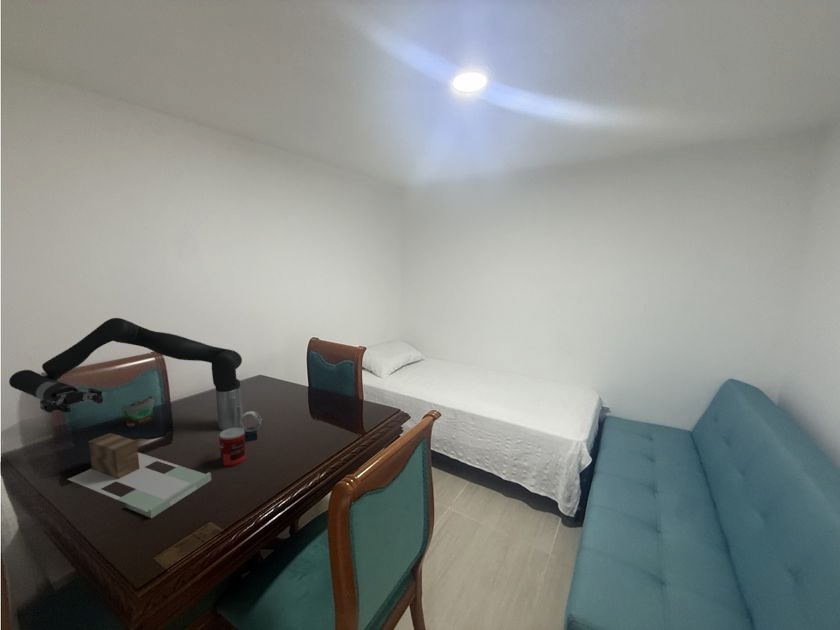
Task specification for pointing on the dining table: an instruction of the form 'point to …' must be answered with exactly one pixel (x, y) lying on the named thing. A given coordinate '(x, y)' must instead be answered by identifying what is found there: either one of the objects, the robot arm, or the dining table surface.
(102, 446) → the walnut block
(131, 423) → the food container
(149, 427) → the dining table surface
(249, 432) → the watch
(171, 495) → the trap lane
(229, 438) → the canned food
